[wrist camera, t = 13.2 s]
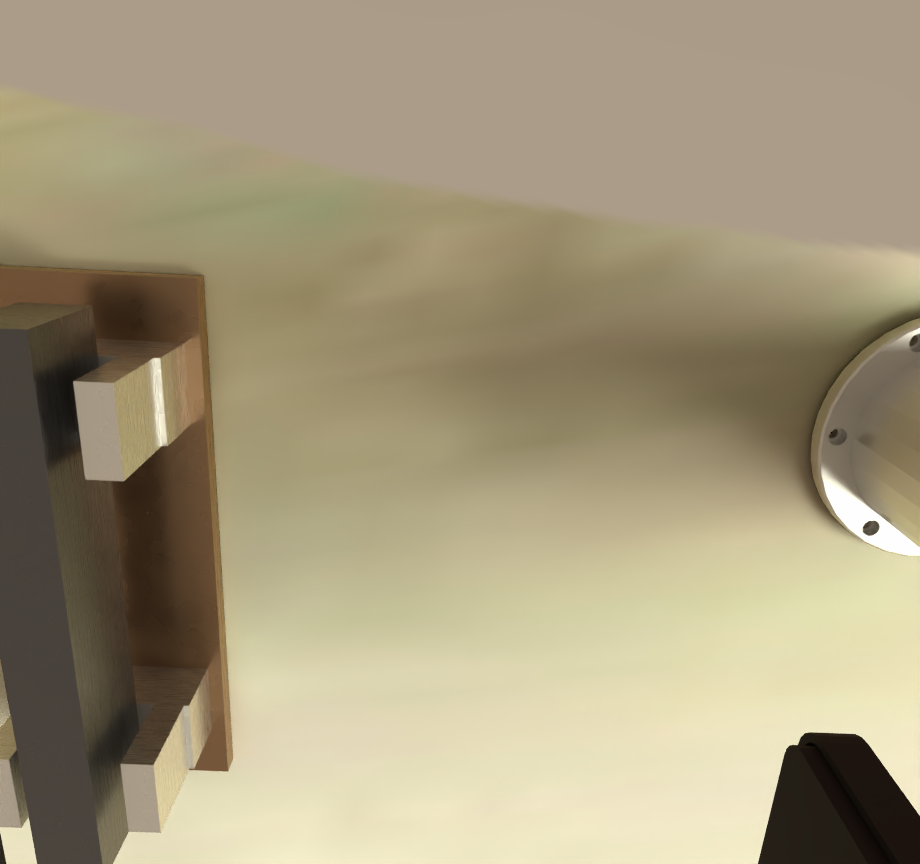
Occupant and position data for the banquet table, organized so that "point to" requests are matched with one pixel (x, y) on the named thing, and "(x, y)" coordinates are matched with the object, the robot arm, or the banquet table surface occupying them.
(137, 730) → the dark grey bar
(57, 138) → the banquet table surface
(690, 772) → the banquet table surface
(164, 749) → the bracket
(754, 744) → the banquet table surface
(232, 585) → the banquet table surface
